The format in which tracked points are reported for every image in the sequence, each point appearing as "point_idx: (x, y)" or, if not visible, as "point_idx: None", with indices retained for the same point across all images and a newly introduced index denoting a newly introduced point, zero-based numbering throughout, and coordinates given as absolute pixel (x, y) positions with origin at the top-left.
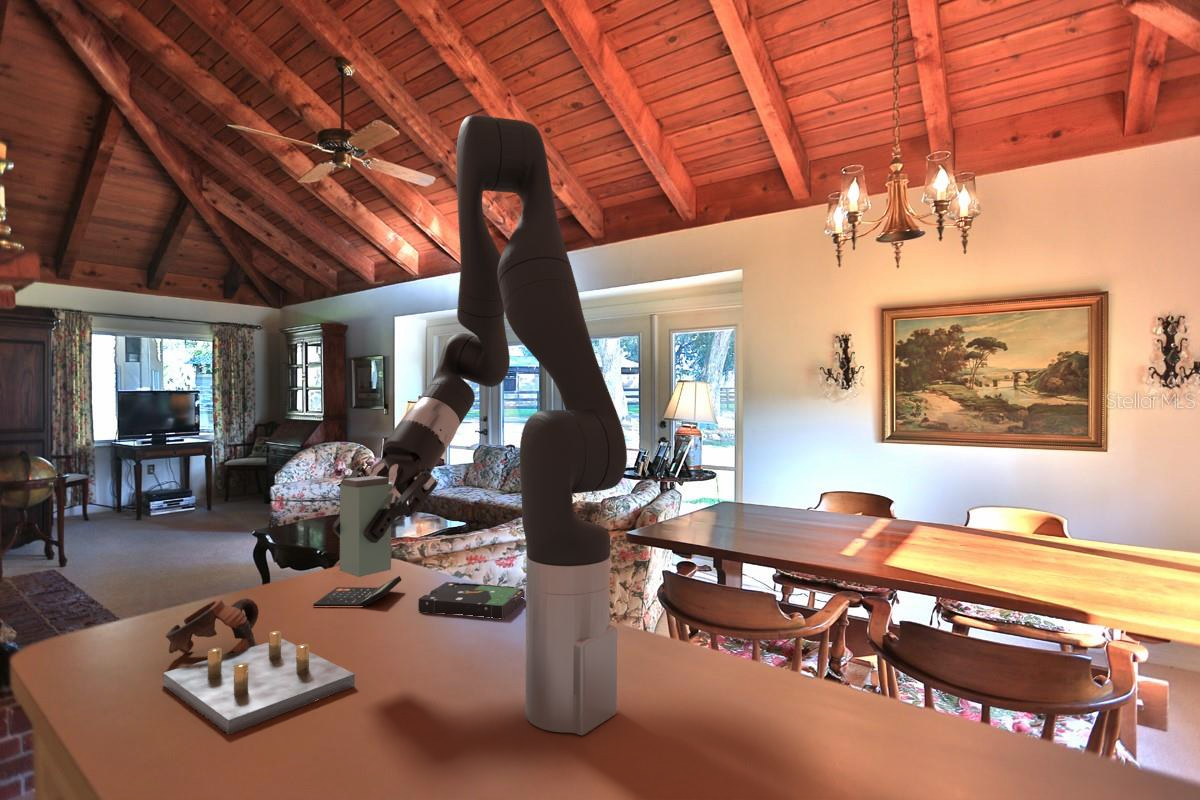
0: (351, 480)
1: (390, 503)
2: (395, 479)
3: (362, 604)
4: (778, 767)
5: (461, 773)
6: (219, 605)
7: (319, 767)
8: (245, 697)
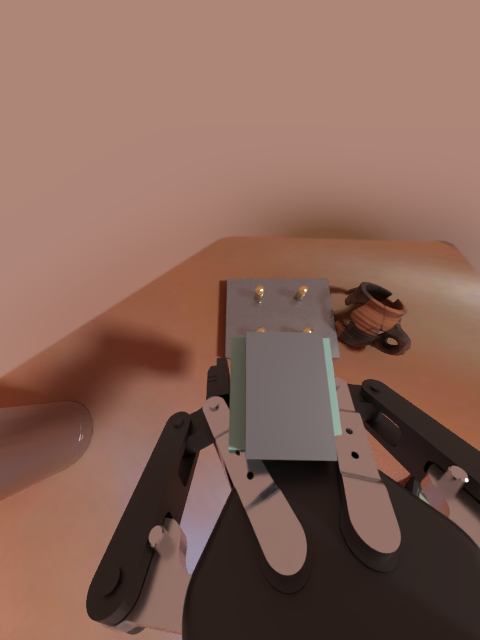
0: (271, 332)
1: (204, 411)
2: (232, 479)
3: (410, 484)
4: None
5: (87, 337)
6: (377, 306)
7: (158, 296)
8: (248, 295)
